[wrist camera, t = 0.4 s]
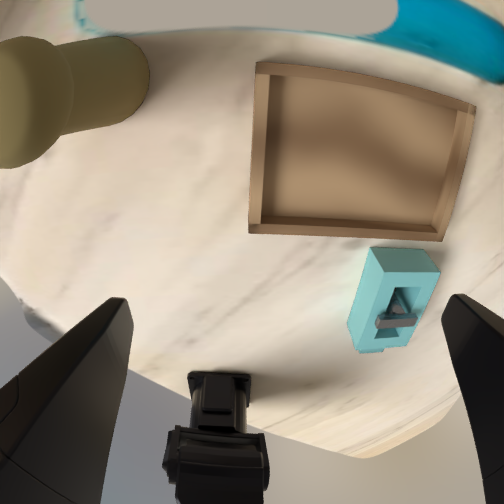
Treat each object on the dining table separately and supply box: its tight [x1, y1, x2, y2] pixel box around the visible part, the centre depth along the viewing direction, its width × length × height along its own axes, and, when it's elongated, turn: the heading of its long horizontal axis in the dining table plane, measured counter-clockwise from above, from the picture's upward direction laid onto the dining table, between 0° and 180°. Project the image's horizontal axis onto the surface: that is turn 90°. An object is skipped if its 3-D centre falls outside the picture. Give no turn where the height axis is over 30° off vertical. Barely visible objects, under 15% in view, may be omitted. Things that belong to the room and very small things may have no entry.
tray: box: [248, 62, 476, 242], centre depth 18 cm, size 10×14×2 cm
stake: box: [374, 288, 418, 329], centre depth 23 cm, size 2×3×4 cm, turn 87°
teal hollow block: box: [347, 247, 441, 353], centre depth 24 cm, size 10×5×3 cm, turn 177°
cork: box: [0, 36, 150, 169], centre depth 11 cm, size 6×6×11 cm
